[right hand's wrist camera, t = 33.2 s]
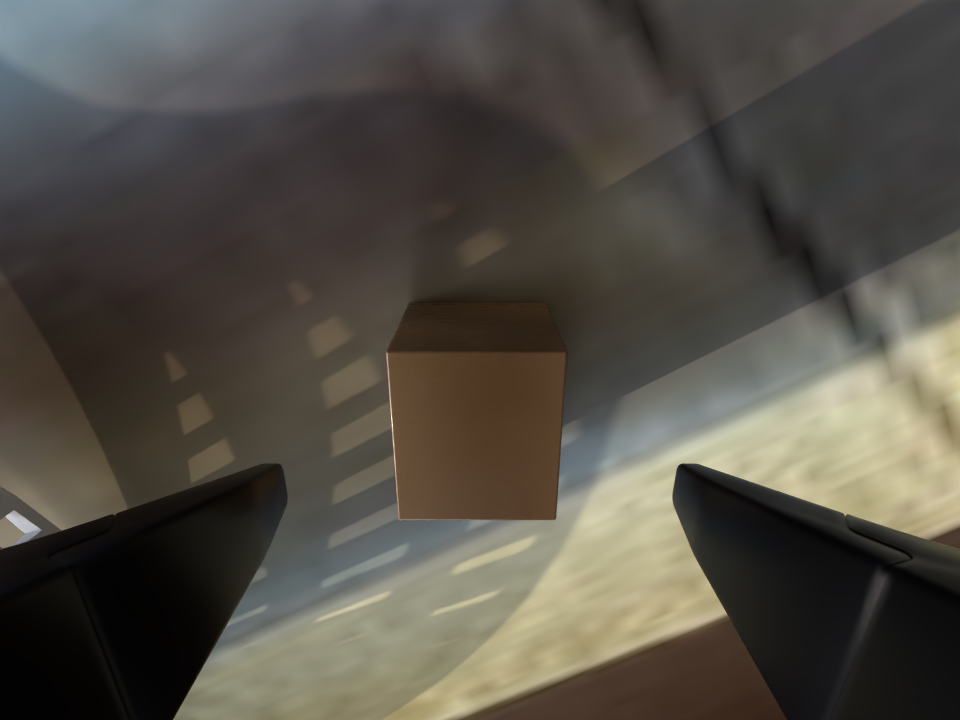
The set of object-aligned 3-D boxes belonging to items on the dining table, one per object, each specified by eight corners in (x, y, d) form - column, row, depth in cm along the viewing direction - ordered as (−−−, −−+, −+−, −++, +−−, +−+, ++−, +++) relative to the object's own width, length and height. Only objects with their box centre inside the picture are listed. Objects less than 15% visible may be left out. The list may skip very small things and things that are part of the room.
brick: (416, 439, 18) (397, 520, 14) (408, 302, 16) (385, 351, 12) (539, 439, 18) (556, 521, 14) (545, 301, 16) (567, 351, 12)
